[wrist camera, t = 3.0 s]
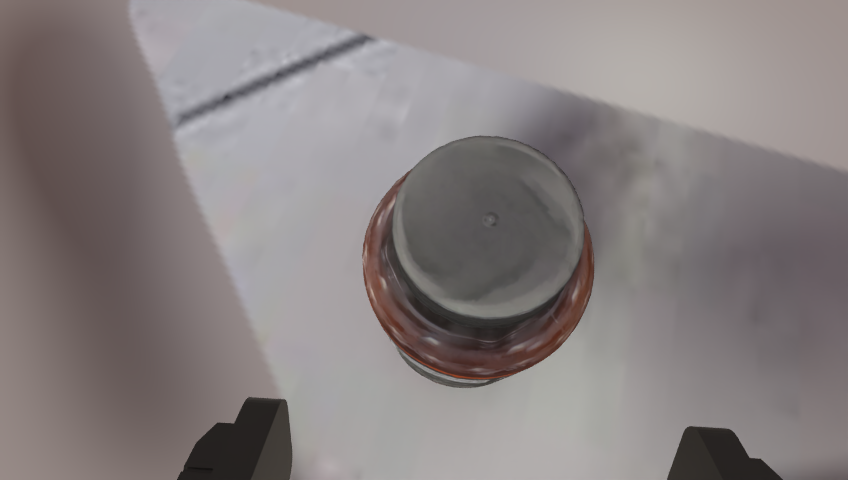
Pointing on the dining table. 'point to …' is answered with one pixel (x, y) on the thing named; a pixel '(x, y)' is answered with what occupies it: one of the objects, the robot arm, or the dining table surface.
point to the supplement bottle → (479, 261)
